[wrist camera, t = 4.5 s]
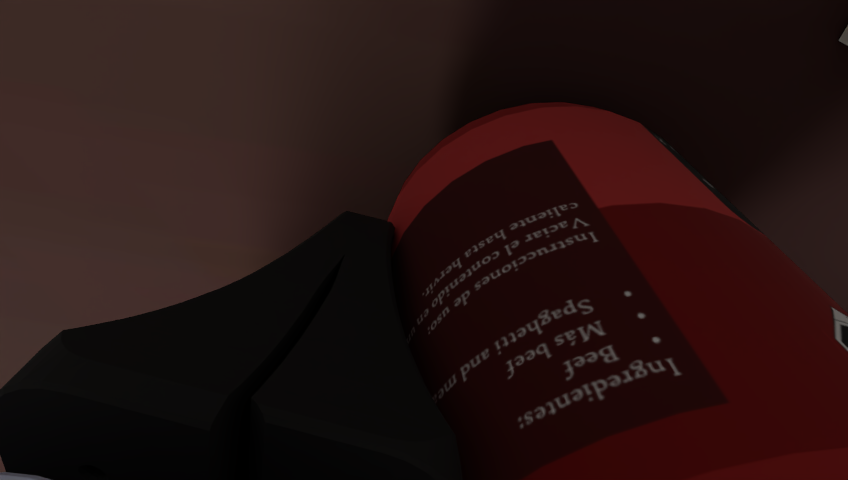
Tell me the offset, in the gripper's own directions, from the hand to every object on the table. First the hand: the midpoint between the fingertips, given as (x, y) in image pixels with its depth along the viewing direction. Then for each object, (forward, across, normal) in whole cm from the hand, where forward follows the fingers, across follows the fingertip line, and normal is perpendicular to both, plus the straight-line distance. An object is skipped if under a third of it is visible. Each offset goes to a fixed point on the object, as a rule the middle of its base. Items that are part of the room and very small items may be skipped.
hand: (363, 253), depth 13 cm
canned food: (+3, -4, 0) cm, 5 cm away
